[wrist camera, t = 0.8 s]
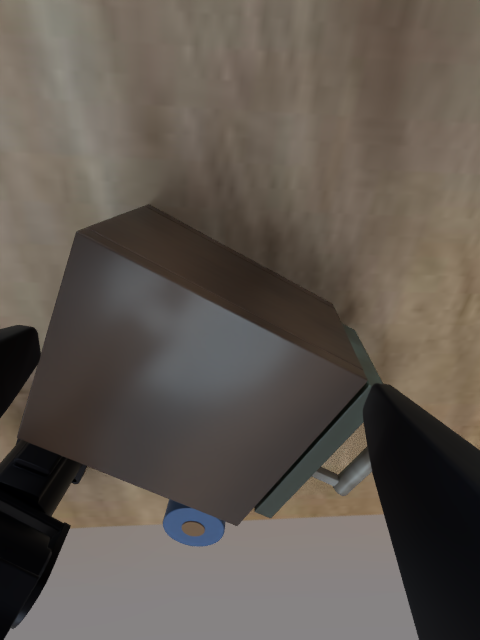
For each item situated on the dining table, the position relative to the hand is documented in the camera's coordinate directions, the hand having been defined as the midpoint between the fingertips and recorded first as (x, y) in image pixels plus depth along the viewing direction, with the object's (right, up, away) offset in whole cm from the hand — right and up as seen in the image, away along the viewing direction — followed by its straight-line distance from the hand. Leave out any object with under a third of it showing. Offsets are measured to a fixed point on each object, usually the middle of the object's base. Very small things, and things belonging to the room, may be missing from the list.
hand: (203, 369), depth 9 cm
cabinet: (-2, +1, +15) cm, 15 cm away
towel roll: (-2, -12, +21) cm, 25 cm away
